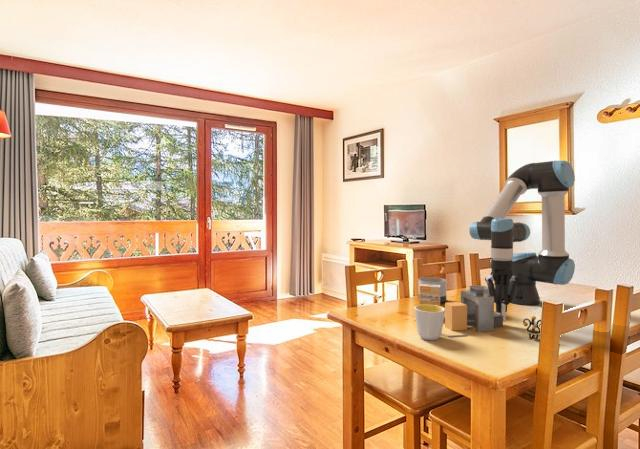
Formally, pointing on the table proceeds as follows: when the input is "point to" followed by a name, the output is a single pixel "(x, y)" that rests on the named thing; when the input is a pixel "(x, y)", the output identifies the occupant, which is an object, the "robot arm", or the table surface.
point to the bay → (457, 335)
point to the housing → (479, 308)
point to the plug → (463, 317)
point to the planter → (435, 282)
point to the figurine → (534, 326)
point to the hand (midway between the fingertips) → (501, 320)
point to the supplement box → (429, 294)
